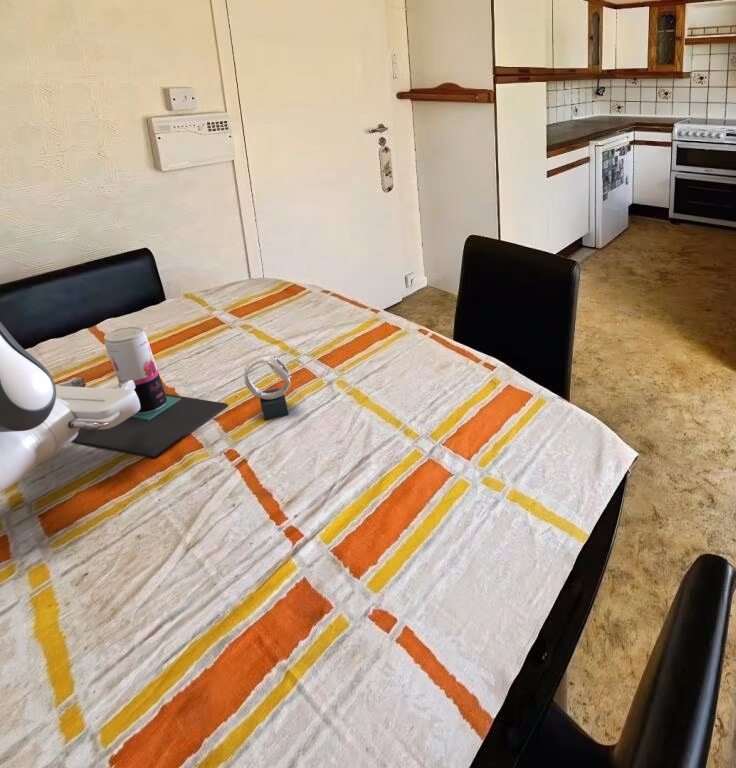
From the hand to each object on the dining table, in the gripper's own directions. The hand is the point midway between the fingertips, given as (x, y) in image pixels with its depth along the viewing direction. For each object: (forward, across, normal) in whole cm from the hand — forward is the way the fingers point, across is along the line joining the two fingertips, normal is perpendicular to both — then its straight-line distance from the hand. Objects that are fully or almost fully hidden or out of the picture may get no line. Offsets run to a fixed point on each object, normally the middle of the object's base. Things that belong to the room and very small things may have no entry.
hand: (105, 382), depth 108 cm
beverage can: (+7, 0, +9) cm, 12 cm away
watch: (+9, -25, +10) cm, 28 cm away
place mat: (+3, -3, +10) cm, 11 cm away
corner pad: (+7, 0, +10) cm, 12 cm away
